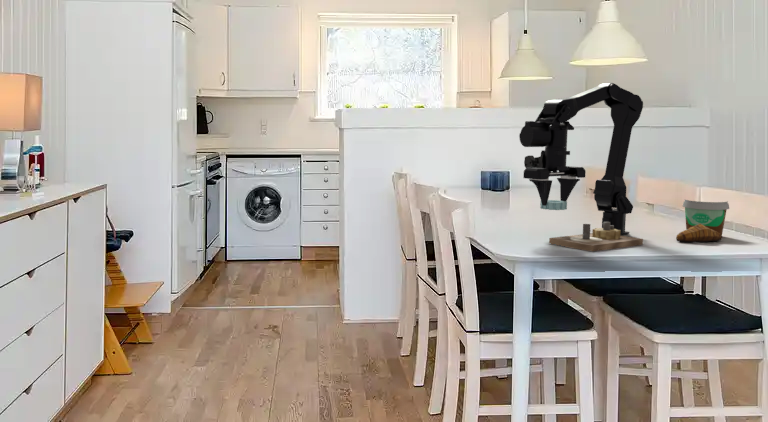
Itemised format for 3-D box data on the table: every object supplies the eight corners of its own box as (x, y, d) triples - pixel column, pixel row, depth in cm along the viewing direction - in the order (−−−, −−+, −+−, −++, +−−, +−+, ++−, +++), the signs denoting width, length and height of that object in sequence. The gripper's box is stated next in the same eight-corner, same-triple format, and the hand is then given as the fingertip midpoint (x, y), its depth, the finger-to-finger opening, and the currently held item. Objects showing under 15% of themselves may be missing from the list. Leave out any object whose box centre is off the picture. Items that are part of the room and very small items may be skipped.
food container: (680, 236, 217) (682, 201, 216) (680, 233, 223) (682, 199, 221) (728, 239, 212) (730, 203, 211) (727, 236, 218) (729, 201, 217)
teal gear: (552, 206, 214) (552, 199, 214) (572, 209, 209) (572, 201, 208) (534, 208, 210) (535, 200, 210) (554, 210, 204) (554, 203, 204)
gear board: (599, 237, 212) (600, 217, 212) (642, 244, 201) (643, 223, 201) (549, 243, 201) (550, 222, 200) (592, 251, 190) (593, 229, 189)
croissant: (685, 244, 203) (686, 225, 202) (669, 240, 209) (670, 222, 209) (729, 243, 206) (730, 224, 206) (712, 239, 213) (713, 221, 212)
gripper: (556, 145, 219) (554, 200, 221) (509, 146, 208) (507, 203, 210) (587, 147, 210) (585, 204, 212) (540, 147, 199) (538, 207, 201)
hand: (553, 204), depth 209 cm, fingers closed on teal gear, 7 cm apart
